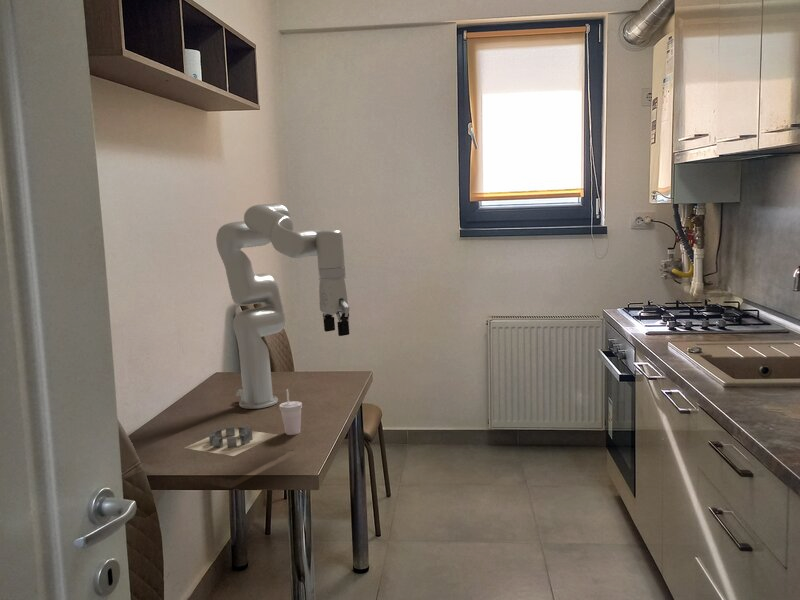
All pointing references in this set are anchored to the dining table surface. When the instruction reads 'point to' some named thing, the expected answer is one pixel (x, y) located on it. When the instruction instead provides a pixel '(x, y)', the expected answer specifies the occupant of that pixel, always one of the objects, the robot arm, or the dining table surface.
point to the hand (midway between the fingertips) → (336, 333)
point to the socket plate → (205, 446)
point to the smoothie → (291, 415)
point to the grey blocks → (231, 442)
